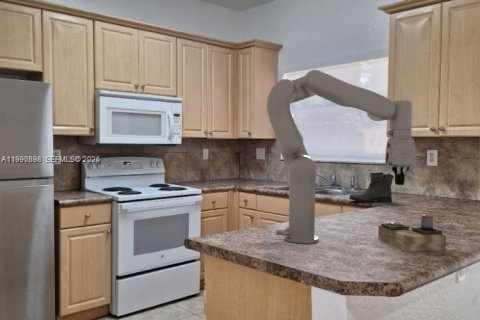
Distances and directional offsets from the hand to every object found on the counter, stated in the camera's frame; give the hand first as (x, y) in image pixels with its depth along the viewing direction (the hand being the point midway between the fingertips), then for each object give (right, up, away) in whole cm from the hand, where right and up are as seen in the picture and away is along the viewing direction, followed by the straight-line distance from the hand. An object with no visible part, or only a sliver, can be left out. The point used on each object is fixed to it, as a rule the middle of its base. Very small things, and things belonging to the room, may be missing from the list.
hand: (399, 184), depth 157 cm
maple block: (+3, -21, -2) cm, 22 cm away
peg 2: (+7, -17, -6) cm, 19 cm away
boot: (+25, -18, +118) cm, 122 cm away
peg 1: (-1, -21, +2) cm, 21 cm away
